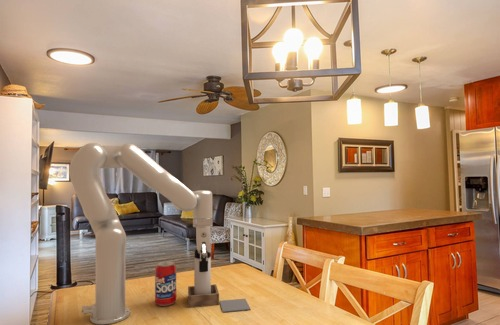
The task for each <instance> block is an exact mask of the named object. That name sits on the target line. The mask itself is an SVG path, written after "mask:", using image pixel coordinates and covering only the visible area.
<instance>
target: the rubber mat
mask: <svg viewBox="0 0 500 325" xmlns="http://www.w3.org/2000/svg"><path fill="white" fill-rule="evenodd" d="M219 305H220V309H221V312H222V313H223V314H225V313H235V312H238V313H239V312H245V311H247V312H248V311H251V306H250V305H249V303H248V301H247V300H246V298H238V299H237V298H236V299H227V300H226V299H223V300H219Z"/></svg>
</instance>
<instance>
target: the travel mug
mask: <svg viewBox="0 0 500 325" xmlns="http://www.w3.org/2000/svg"><path fill="white" fill-rule="evenodd" d="M211 251H212V248H211ZM201 253H202V251H201ZM211 253H212V252H211ZM211 253H209V252H208V251H207V261H208V271H207V272H199V261H200V254H199V253H198V250H197V249H195V250H194V256H193V257H194V262H193V263H194V265H193V266H194V268H193V269H194V272H193V273H194V274H193V275H194V283H193V284H194V285H193V286H194V295H203V294H211V285H212V281H211V280H212V272H211V270H212V269H211V267H212V265H211V263H212V261H211V260H212V256H211ZM201 256H202V255H201Z"/></svg>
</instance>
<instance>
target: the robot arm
mask: <svg viewBox="0 0 500 325" xmlns="http://www.w3.org/2000/svg"><path fill="white" fill-rule="evenodd" d="M120 168H121V169H123V168H124V169H126V170H127V171H128V172H129V173H130V174H132V175H133V176H134V177H136V179H138V180H139V181H141V182H142V183H143V185H145V186H147V187H148V188H150V189H151V190H154V191H156V192H158V193H159V194H161V195H162V196H163V197H165V198H166V199H167V200H168V201H170V202H171V205H172V206H173V207H174V209H177V210H179V211H182V212H185V213H186V212H187V213H189V212H191V211H192V227H193V228H195V229H196V230H195V236H196V237H195V238H196V240H195V241H196V250H198V253H199V254H200V261H199V272H207V271H208V261H207V251H208V252H209V253H212V250H211V249H212V247H211V246H212V243H211V242H212V240H211V238H212V237H211V227H213V223H214V222H213V192H212V191H211V190H208V189H206V190H203V189H202V190H195V191H194V190H193V191H192V190H191V189H189V188H188V187H187V186H186V185H185V184H184V183H183V182H181V181H180V180H179V179H178V178H176V177H175V176H174V175H172V174H171V173H170V172H168V171H167V170H166V169H165V168H163V167H162V166H161V165H160V164H159V163H157V162H156V161H155V160H154V159H152V157H150V156H149V155H148V154H147V153H145V151H144V150H142V149H141V148H139V147H138V146H137V145H135V144H133V143H129V142H127V143H124V144H121V145H101V144H98V143H96V142H89V143H86V144H84V145H82V146H81V147H80V148H79V149H78V150H77V151H76V152H75V154H73V156H72V158H71V161H70V165H69V177H70V181H71V182H70V183H71V185H72V187H73V189H74V192H75V195H76V197H77V199H78V201H79V204H80V206H81V208H82V212H83V215H84V216H85V218H86V219H87V221H88V223H89V225H90V227H91V229H92V231H93V234H94V236H95V246H94V247H95V286H94V288H95V293H94V294H95V297H94V298H95V299H94V300H95V303H93V304H92V305H82V307H81V313H83V315H87V314H91V315H90V316H89V320H90V321H89V322H91V323H92V324H96V325H108V324H109V325H110V324H115V323H118V322H122V321H124V320H125V319H127V318H128V317H129V316H130V314H131V309H130V308H129V307H127V306H126V256H127V255H126V252H127V234H126V232H125V230H124V228H123V226H122V223H121V221H120V219H119V216H118V214H117V212H116V209H115V207H114V205H113V203H112V200H111V199H110V198H109V196H108V195H107V193H106V190H105V188H104V186H103V182H102V179H101V178H100V175H99V169H120ZM201 251H202V253H201ZM201 255H202V256H201Z"/></svg>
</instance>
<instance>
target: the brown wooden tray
mask: <svg viewBox="0 0 500 325" xmlns="http://www.w3.org/2000/svg"><path fill="white" fill-rule="evenodd" d="M218 289H219V288H218V286H217V284H216V283H215V284H211V294H203V295H194V285H190V286H188V287H187V290H188V291H187V295H188V296H187V298H188V299H187V300H188V301H187V302H188V308H199V307H208V306H209V307H211V306H219V305H220V293H219V290H218Z"/></svg>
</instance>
